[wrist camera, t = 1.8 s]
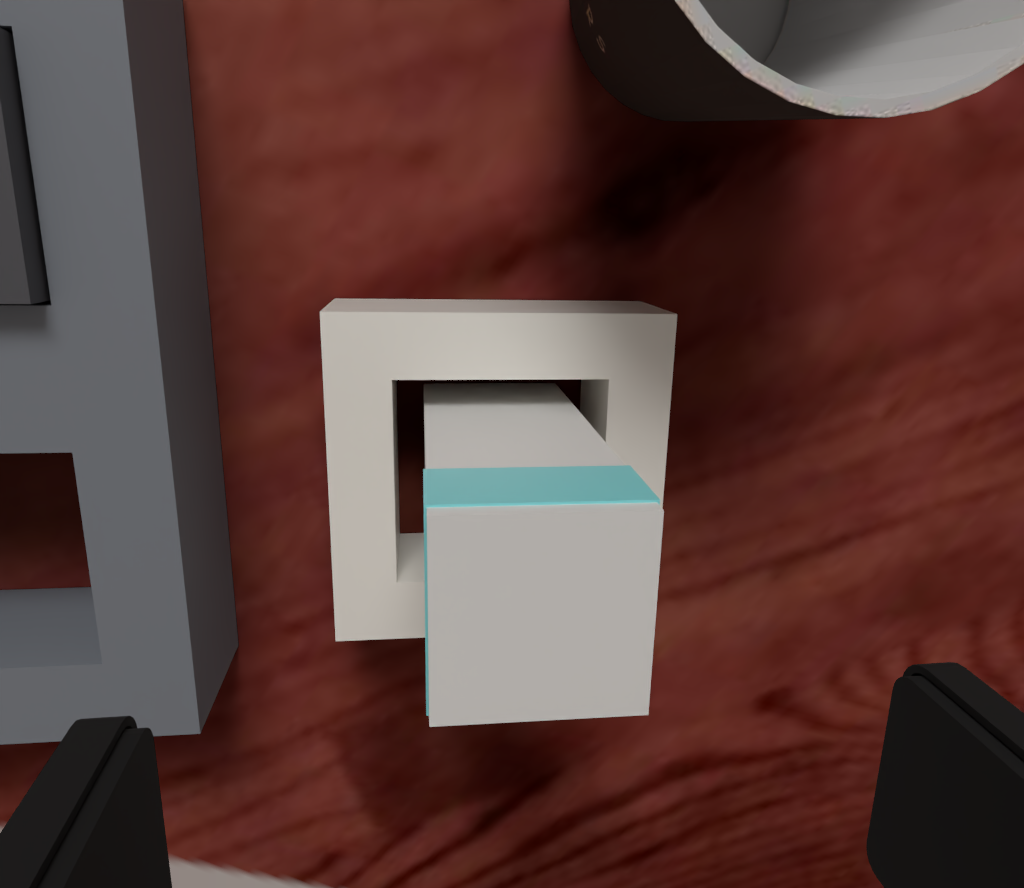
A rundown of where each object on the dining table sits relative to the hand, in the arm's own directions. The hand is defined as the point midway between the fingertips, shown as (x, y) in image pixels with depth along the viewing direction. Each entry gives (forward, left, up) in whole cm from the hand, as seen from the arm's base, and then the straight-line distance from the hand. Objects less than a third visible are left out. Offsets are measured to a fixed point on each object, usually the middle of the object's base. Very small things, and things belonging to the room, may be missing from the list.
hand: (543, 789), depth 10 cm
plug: (-1, 0, -15) cm, 15 cm away
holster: (-1, 0, -15) cm, 15 cm away
